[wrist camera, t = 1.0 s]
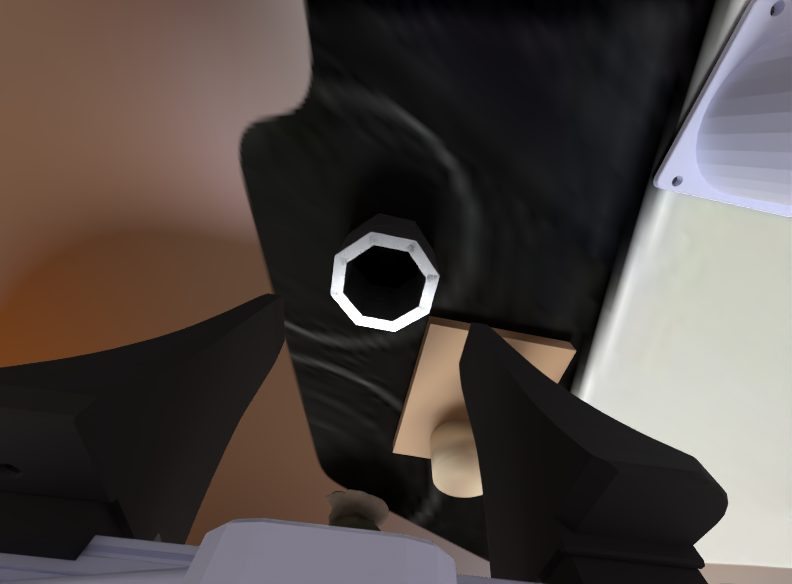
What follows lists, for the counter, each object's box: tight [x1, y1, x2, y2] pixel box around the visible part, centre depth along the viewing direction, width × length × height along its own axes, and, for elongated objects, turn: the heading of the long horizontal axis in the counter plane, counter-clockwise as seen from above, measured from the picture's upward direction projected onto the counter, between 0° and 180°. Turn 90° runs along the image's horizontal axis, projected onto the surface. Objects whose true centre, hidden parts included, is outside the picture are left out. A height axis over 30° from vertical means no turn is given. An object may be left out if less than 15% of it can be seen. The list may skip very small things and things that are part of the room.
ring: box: [331, 213, 439, 332], centre depth 17 cm, size 5×5×4 cm
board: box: [393, 316, 576, 497], centre depth 22 cm, size 10×13×4 cm
